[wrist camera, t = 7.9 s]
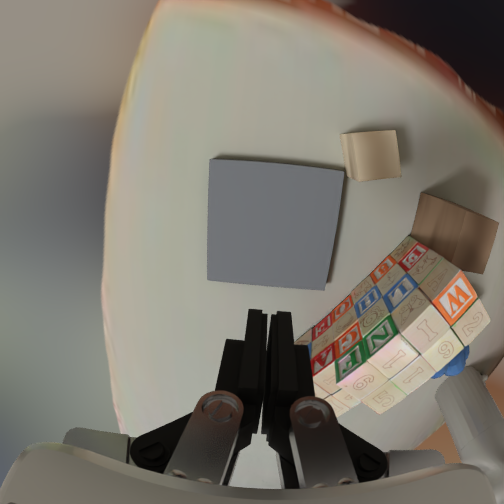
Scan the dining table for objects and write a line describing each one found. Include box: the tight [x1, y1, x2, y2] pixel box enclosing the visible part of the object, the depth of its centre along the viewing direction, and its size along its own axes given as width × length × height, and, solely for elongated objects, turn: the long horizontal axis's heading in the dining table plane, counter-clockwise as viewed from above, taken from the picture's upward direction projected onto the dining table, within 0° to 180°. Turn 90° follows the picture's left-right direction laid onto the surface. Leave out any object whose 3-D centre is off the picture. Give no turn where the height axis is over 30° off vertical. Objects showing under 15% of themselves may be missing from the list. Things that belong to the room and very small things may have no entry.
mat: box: [207, 159, 344, 290], centre depth 25 cm, size 12×12×1 cm
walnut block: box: [410, 192, 499, 274], centre depth 21 cm, size 5×5×8 cm
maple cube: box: [340, 130, 401, 182], centre depth 21 cm, size 4×4×4 cm
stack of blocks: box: [294, 236, 491, 418], centre depth 23 cm, size 21×6×12 cm, turn 141°
